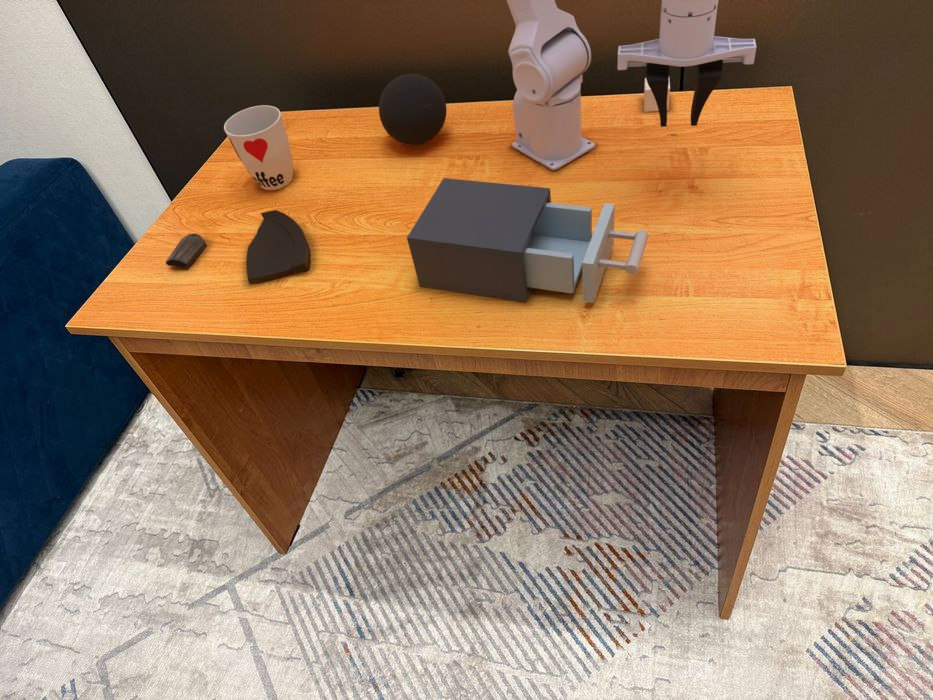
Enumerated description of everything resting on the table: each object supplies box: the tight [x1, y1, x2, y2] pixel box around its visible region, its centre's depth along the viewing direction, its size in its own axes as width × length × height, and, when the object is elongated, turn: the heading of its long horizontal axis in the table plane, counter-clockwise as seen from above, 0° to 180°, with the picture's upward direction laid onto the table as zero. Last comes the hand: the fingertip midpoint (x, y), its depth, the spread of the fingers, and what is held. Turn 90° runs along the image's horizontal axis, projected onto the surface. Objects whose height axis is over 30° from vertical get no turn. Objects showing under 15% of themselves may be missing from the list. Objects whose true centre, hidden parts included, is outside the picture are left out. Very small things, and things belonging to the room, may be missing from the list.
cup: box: [223, 104, 294, 191], centre depth 101 cm, size 8×8×10 cm
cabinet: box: [406, 177, 552, 303], centre depth 83 cm, size 14×12×8 cm
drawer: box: [523, 202, 649, 304], centre depth 79 cm, size 17×10×6 cm, turn 70°
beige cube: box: [643, 76, 671, 113], centre depth 102 cm, size 4×4×4 cm
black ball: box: [378, 73, 448, 146], centre depth 103 cm, size 10×10×10 cm
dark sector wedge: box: [245, 209, 312, 284], centre depth 93 cm, size 8×14×2 cm, turn 9°
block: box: [165, 233, 208, 268], centre depth 95 cm, size 4×6×2 cm, turn 171°
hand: (678, 121), depth 83 cm, fingers open, 3 cm apart
